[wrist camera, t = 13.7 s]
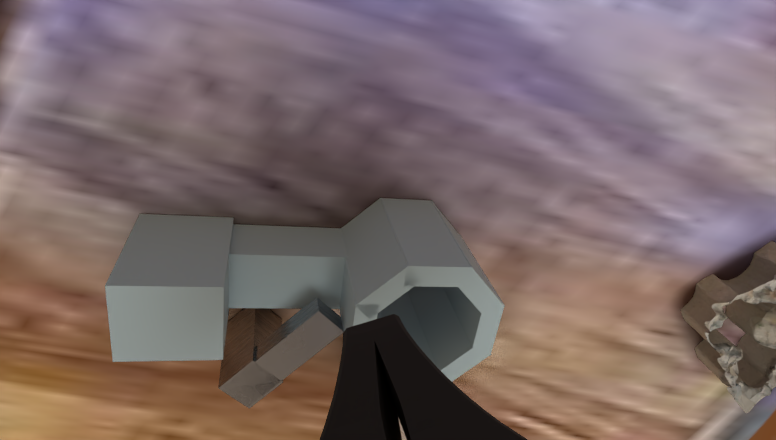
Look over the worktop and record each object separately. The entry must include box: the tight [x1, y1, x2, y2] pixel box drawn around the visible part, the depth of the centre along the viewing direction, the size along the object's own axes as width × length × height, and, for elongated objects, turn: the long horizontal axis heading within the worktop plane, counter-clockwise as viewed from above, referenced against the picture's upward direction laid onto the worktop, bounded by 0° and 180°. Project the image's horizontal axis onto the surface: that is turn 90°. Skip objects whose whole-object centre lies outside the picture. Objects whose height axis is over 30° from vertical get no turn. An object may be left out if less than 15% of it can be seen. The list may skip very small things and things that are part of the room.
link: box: [105, 198, 505, 382], centre depth 21 cm, size 13×5×5 cm, turn 82°
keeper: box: [218, 297, 344, 408], centre depth 22 cm, size 2×5×4 cm, turn 128°
